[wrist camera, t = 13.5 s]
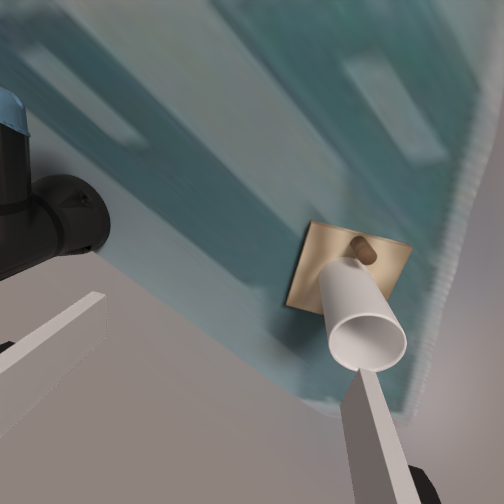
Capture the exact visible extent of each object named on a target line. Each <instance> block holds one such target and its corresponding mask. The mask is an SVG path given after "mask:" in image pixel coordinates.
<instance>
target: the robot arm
mask: <svg viewBox="0 0 504 504" xmlns="http://www.w3.org/2000/svg"><path fill="white" fill-rule="evenodd" d="M29 137H31V136H30V133H29V132H28V127H27V118H26V110H25V106H24V104H23V103H22V101H21V100H20V99H19V98H18V97H17V96H16V95H15V94H13V93H12V92H10V91H8V90H6V89H4V88H1V87H0V281H2V280H4V279H6V278H8V277H11V276H13V275H15V274H17V273H19V272H22V271H24V270H26V269H28V268H31V267H33V266H35V265H37V264H40V263H42V262H44V261H46V260H48V259H51V258H53V257H56V256H67V255H78V254H84V253H88V252H90V251H93V250H95V249H97V248H99V247H100V246H102V245H103V244H104V242H105V241H106V239H107V238H108V235H109V231H110V218H109V213H108V210H107V207H106V205H105V203H104V201H103V200H102V198H101V197H100V195H99V194H98V193H97V191H96V190H95V189H94V188H93V187H92V186H90V185H89V184H88V183H87V182H85V181H83V180H82V179H80V178H78V177H75V176H72V175H65V174H62V175H52V176H47V177H44V178H42V179H40V180H38V181H36V182H34V183H32V184H31V168H30V148H29ZM106 337H107V303H106V295H104V294H101V293H98V292H94V291H92V292H91V293H89V294H88V295H87V296H85V297H84V298H82V299H81V300H79V301H78V302H76V303H75V304H73V305H72V306H70V307H69V308H67V309H66V310H64V311H63V312H61V313H60V314H58V315H57V316H56V317H54V318H53V319H51V320H50V321H48V322H47V323H45V324H44V325H42V326H41V327H39V328H38V329H36V330H35V331H33V332H32V333H30V334H29V335H27V336H26V337H24V338H23V339H21V340H20V341H19V342H17V343H14V342H11V341H8V342H6V343H4V344H1V345H0V439H1V438H2V437H3V436H4V435H5V434H6V433H7V432H8V431H9V430H10V429H11V428H12V427H13V426H14V425H16V423H18V422H19V421H20V420H21V419H22V418H23V417H24V416H25V415H26V414H27V413H28V412H29V411H30V410H31V409H32V408H33V407H34V406H35V405H36V404H37V403H38V402H39V401H40V400H42V398H44V397H45V396H46V395H47V394H48V393H49V392H50V391H51V390H52V389H53V388H54V387H55V386H56V385H57V384H58V383H59V382H60V381H61V380H62V379H63V378H64V377H65V376H66V375H67V374H69V373H70V371H72V370H73V369H74V368H75V367H76V366H77V365H78V364H79V363H80V362H81V361H82V360H83V359H84V358H85V357H86V356H87V355H88V354H89V353H90V352H91V351H92V350H93V349H94V348H96V347H97V346H98V345H99V343H101V342H102V341H103V340H104V339H105V338H106ZM340 410H341V416H342V422H343V428H344V435H345V441H346V447H347V453H348V459H349V466H350V472H351V478H352V484H353V490H354V496H355V503H356V504H441V502H440V499H439V497H438V494H437V492H436V489H435V488H434V486H433V485H432V483H431V482H430V480H429V479H428V477H427V476H426V474H425V473H424V471H423V470H422V469H419V468H417V467H413V466H410V465H407V462H406V459H405V456H404V453H403V450H402V447H401V445H400V442H399V439H398V436H397V433H396V430H395V427H394V424H393V422H392V419H391V416H390V413H389V410H388V407H387V404H386V401H385V399H384V396H383V393H382V390H381V387H380V384H379V381H378V378H377V376H376V373H375V372H373V371H370V370H366V369H363V368H359V369H358V371H357V373H356V375H355V377H354V379H353V381H352V383H351V385H350V387H349V389H348V391H347V393H346V395H345V397H344V398H343V400H342V402H341V404H340Z"/></svg>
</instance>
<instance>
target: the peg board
mask: <svg viewBox="0 0 504 504" xmlns="http://www.w3.org/2000/svg"><path fill="white" fill-rule="evenodd" d="M412 249H413V248H412V247H411V246H410V245H409V244H406V243H402V242H398V241H394V240H390V239H386V238H382V237H378V236H374V235H370V234H366V233H361V232H357V231H353V230H349V229H345V228H341V227H337V226H333V225H329V224H325V223H321V222H316V221H312V220H311V222H310V225H309V228H308V231H307V235H306V238H305V241H304V244H303V248H302V251H301V254H300V257H299V261H298V264H297V267H296V270H295V274H294V277H293V280H292V283H291V287H290V290H289V293H288V296H287V300H286V305H288V306H292V307H295V308H299V309H303V310H306V311H310V312H313V313H317V314H321V315H324V312H323V305H322V299H321V292H320V285H319V274H320V272H321V270H322V268H323V267H324V266H325V265H326V264H327V263H328V262H329V261H331V260H333V259H336V258H339V257H351V258H355V259H357V260H359V261H360V263H361V264H363V265H365V266H366V267H367V269H368V271H369V272H370V274H371V276H372V277H373V279H374V281H375V283H376V284H377V286H378V288H379V289H380V291H381V293H382V295H383V296H384V298H385V300H386V302H387V300H388V298H389V296H390V294H391V292H392V290H393V288H394V286H395V284H396V282H397V280H398V278H399V276H400V274H401V272H402V270H403V267H404V265H405V263H406V261H407V259H408V257H409V255H410V253H411V251H412Z"/></svg>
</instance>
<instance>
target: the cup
mask: <svg viewBox="0 0 504 504" xmlns="http://www.w3.org/2000/svg"><path fill="white" fill-rule="evenodd" d="M319 285H320V292H321V299H322V305H323V312H324V319H325V325H326V332H327V338H328V345H329V349H330V352H331V354H332V356H333V357H334V359H335V360H336V361H337V362H338V363H339V364H341V365H342V366H344V367H346V368H348V369H350V370H353V371H358V369H359V368H363V369H366V370H370V371H373V372H378V371H382V370H385V369H387V368H390V367H391V366H393V365H394V364H396V363H397V362H398V361H399V360H400V359H401V358H402V356H403V355H404V353H405V350H406V345H407V342H406V336H405V334H404V331H403V329H402V328H401V326H400V324H399V322H398V321H397V319H396V317H395V315H394V314H393V312H392V310H391V308H390V307H389V305H388V303H387V302H386V300H385V298H384V296H383V295H382V293H381V291H380V289H379V288H378V286H377V284H376V283H375V281H374V279H373V277H372V276H371V274H370V272H369V271H368V269H367V267H366V266H365V265H363V264H361V263H360V261H359V260H357V259H355V258H351V257H339V258H336V259H333V260H331V261H329V262H328V263H327V264H326V265H325V266H324V267H323V268H322V270H321V272H320V274H319Z"/></svg>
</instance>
